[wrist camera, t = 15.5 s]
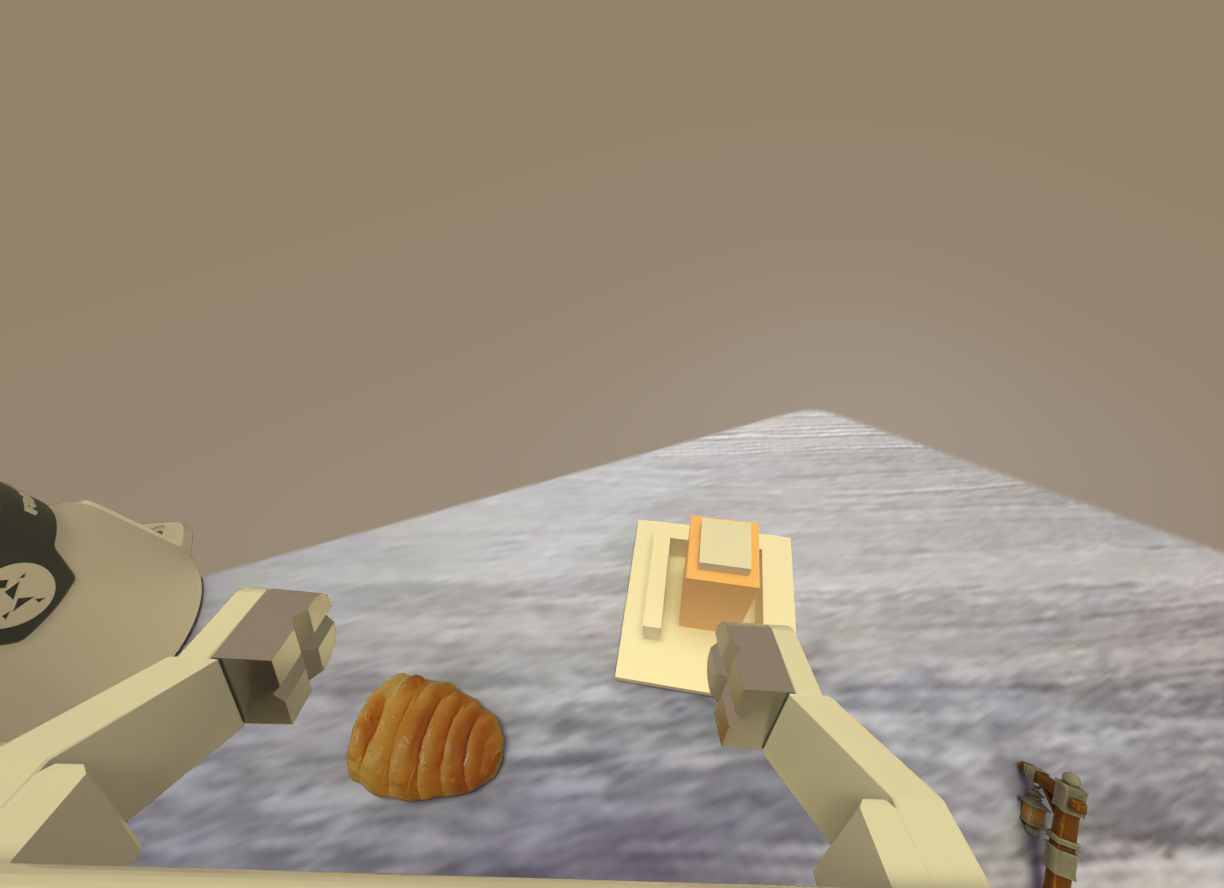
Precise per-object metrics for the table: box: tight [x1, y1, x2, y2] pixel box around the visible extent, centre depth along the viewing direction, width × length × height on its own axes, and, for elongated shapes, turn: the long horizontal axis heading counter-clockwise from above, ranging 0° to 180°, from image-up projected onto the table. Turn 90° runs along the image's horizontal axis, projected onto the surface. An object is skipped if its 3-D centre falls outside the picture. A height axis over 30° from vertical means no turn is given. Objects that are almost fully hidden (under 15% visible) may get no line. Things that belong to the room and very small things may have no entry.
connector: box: [679, 515, 760, 632], centre depth 31 cm, size 4×4×10 cm
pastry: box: [347, 673, 504, 802], centre depth 30 cm, size 9×7×4 cm
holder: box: [615, 520, 796, 697], centre depth 34 cm, size 12×12×4 cm
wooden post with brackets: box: [1019, 761, 1089, 888], centre depth 26 cm, size 2×8×4 cm, turn 161°
